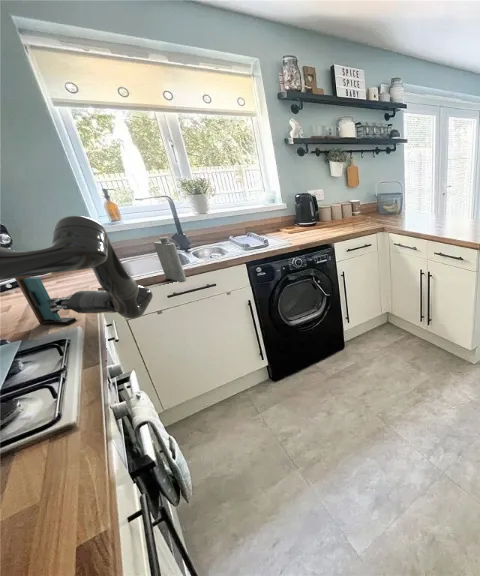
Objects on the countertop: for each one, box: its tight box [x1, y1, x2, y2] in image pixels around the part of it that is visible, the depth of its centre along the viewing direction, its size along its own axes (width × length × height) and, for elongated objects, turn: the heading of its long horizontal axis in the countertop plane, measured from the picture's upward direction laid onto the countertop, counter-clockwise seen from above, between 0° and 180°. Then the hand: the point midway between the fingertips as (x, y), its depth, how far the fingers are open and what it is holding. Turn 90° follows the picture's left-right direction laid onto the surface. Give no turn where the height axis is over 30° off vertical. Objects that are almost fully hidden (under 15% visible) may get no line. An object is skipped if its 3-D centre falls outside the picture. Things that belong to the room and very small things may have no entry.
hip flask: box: [153, 236, 188, 283], centre depth 142 cm, size 16×4×20 cm, turn 57°
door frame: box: [14, 273, 77, 326], centre depth 104 cm, size 3×12×20 cm, turn 80°
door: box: [23, 277, 61, 320], centre depth 105 cm, size 3×6×15 cm, turn 80°
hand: (51, 301), depth 104 cm, fingers closed
